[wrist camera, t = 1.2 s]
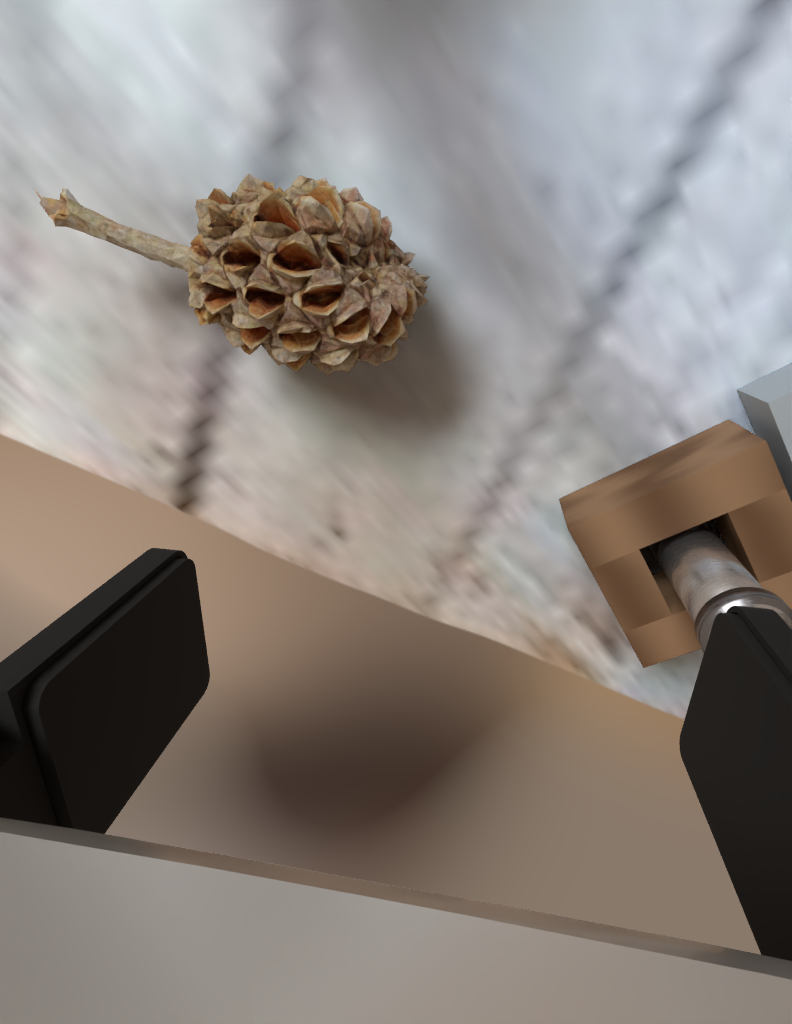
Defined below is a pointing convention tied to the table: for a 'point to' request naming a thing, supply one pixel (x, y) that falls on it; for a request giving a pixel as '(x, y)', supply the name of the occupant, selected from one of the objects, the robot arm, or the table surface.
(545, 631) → the table surface
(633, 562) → the mount block
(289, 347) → the pine cone
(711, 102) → the table surface
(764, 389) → the socket block
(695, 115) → the table surface
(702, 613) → the lock pin
